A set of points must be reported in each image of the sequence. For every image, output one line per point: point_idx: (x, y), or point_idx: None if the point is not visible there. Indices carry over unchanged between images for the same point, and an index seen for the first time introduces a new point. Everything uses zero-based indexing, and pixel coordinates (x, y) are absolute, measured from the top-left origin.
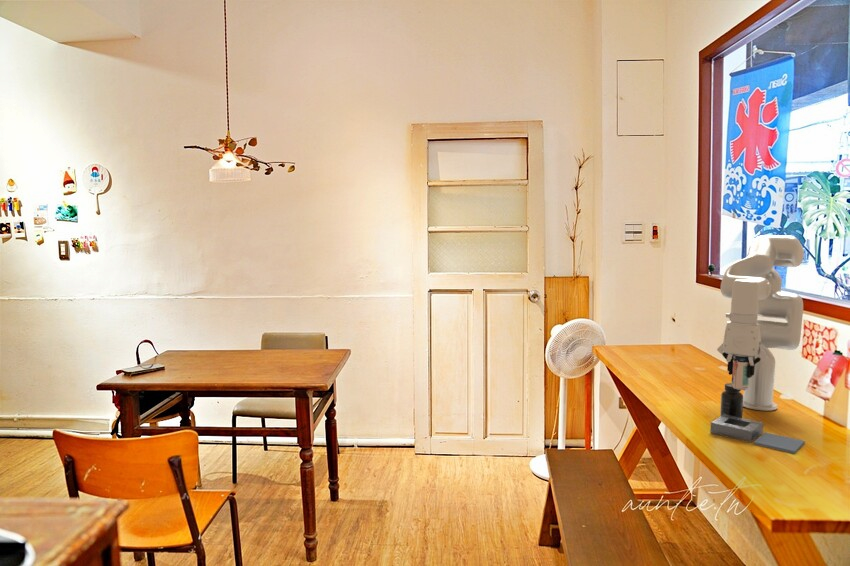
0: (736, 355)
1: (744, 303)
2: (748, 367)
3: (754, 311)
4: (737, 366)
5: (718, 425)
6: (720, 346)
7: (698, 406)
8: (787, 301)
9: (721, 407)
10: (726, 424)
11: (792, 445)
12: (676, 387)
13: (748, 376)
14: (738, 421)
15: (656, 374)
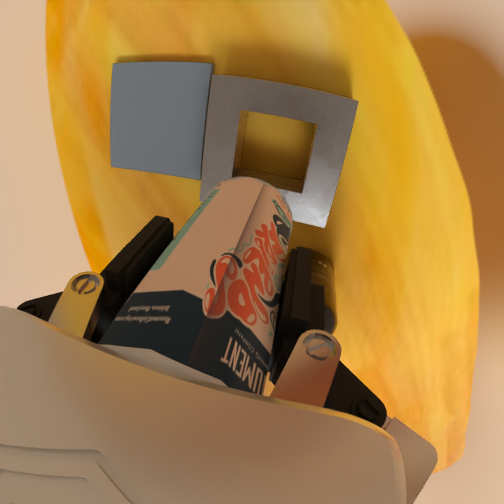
0: (199, 372)
1: None
2: (125, 260)
3: None
4: (219, 262)
5: (329, 93)
6: (410, 496)
7: (383, 330)
8: None
9: (333, 284)
10: (303, 105)
11: (123, 105)
12: (405, 405)
13: (158, 218)
14: (273, 185)
15: (420, 434)
